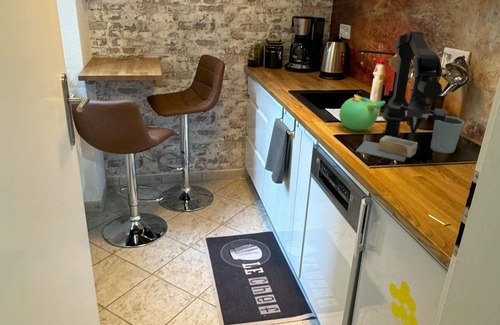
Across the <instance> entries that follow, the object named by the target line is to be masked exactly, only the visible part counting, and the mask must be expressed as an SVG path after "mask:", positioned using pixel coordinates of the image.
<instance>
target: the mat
mask: <svg viewBox="0 0 500 325" xmlns="http://www.w3.org/2000/svg"><path fill="white" fill-rule="evenodd" d="M379 143H380V142H374V141H373V142H372V141H368V140H364V141H363V142H362V143H361V144H360V146H358V148H356V150H355V152H356V153H360V154H365V155H371V156H375V157H380V158H385V159H389V160H393V161H394V160H395V161H399V162H405V161H406V159H407V158H408V157H406V156H402V155H398V154H394V153H390V152H386V151H382V150H379Z"/></svg>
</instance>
